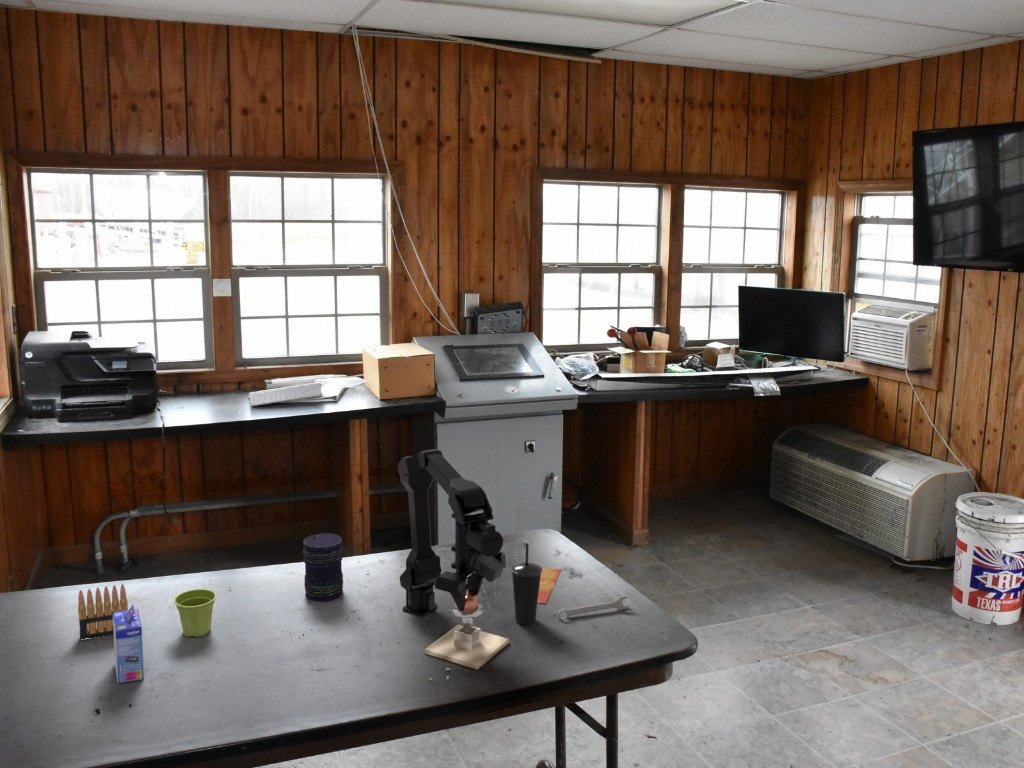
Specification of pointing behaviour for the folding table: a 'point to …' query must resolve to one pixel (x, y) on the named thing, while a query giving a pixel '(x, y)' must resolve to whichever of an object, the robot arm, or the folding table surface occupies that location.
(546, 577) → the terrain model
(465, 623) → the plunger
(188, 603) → the plant pot
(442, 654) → the stand
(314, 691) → the folding table surface
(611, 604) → the combination wrench
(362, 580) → the folding table surface
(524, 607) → the drinking cup
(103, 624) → the ammunition clip
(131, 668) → the ink cartridge box
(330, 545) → the storage jar
